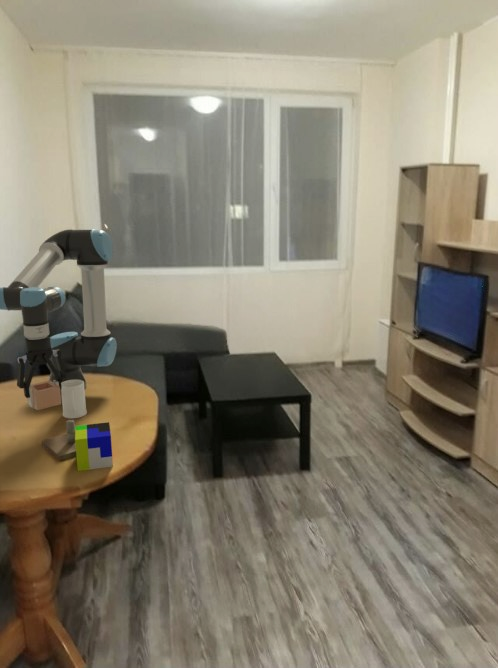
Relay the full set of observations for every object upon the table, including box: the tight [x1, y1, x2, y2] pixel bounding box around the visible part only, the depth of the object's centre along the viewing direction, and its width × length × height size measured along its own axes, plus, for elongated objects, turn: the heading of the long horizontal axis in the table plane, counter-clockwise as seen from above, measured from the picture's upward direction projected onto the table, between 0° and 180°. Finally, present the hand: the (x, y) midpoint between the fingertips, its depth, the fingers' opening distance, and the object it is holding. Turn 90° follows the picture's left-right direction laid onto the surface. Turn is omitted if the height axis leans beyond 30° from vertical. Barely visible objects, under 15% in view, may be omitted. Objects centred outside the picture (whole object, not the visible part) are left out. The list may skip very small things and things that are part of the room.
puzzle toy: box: [75, 422, 114, 472], centre depth 165 cm, size 10×10×10 cm
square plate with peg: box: [41, 419, 77, 462], centre depth 174 cm, size 14×14×8 cm
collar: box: [30, 380, 62, 411], centre depth 180 cm, size 8×8×6 cm
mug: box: [61, 380, 88, 419], centre depth 198 cm, size 12×8×12 cm
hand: (44, 402), depth 181 cm, fingers closed on collar, 8 cm apart
